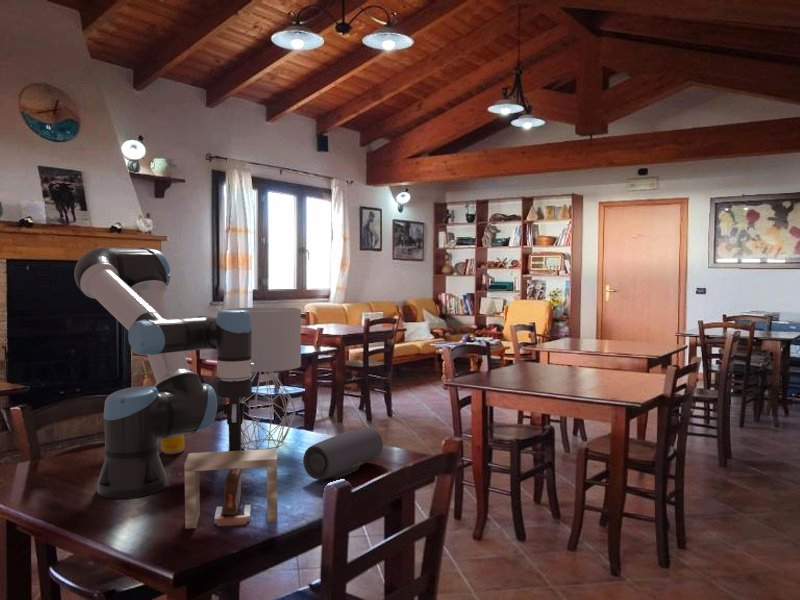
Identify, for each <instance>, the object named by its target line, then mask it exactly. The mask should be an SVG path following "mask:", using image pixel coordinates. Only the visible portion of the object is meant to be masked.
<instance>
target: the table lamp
mask: <svg viewBox="0 0 800 600" xmlns="http://www.w3.org/2000/svg"><path fill="white" fill-rule="evenodd" d="M222 310H247V311H248V312H249V313H250V315H251V326H252V341H251V362H250V363H254V367H250V368H251V376H250V377H249V378H250V379H251V380H252V382H253V381H254V380H255V377H256V375H257V373H259V374H258V375H259V376H258V381H257V385H256V391H255V392H254V393H253V394H251V395H249V396H248V397H247V398H246V397H242V399H241V402H244V405H246V407H248V409H249V410H250V411H251V413H252V416H251V415H249V414H248V413H247V412H245V411H244V412H243V414H245V415H247V416H248V417H250V418H251V419H252V421H251V422H250V424H249V425H248V426H247V425H246V421H245V417H244V416H243V423H244V425H245V429H244V430H243V428H242V427H241V442H242V445H243V448H247V449H249V450H261V448H260V447H261V446H262V445H263V443H264V442H265V440H266V441H267V447H266V448H264V449H277V448H279V447H281V446H283V445H284V442H285V440H286V439H287V436H288V433H289V431H290V429H291V427H292V424H293V423H294V419H295V417H296V408H295V403H294V401H293V399H292V396H291V393H290V392H289V391H288V389H286V388H285V387H286V386H284V385H283V383H282V382H281V381H280V379H279V378H278V377H277V375H276V374H275V372H281V371H282V372H284V371H290V370H294V369H299V368H301V366H302V335H301V334H302V328H301V327H302V326H301V325H302V321H301V319H302V318H301V317H302V315H301V314H302V312H301V311H302V309H301V308H297V307H280V306H279V307H277V306H275V307H274V306H273V307H272V306H271V307H270V306H269V307H268V306H267V307H266V306H265V307H261V306H259V307H257V306H255V307H234V308H233V307H232V308H224V309H222ZM261 373H263V374H264V379H265V384H266V385H265V386H266V392H267V396H265V394H262V393H261V392H259V387H260V380H261V375H262V374H261ZM268 374H269V376H270V378H271V380H272V382H273V384H274V386H275V389H276V391H277V392H278V395H276V396H275V397H274V398H273V395H272V390H271V385H270V381H269V378H268ZM277 386H278V387H277ZM268 387H269V388H268ZM281 387H282V388H281ZM282 389H283V390H282ZM279 390H280V391H279ZM283 391H284V392H285V393H284V392H283ZM269 392H270V395H269ZM258 393H259V395H261V396H263V397H264V398H266V399H268V401H267V402H265V403H264V404H262V405H261V406H260V407H258ZM281 394H282V395H281ZM254 395H255V397H254V401H253V410H252V409H251V407H249V405H248V404H247V403H246V402H247V401H248V400H249V399H251V398H252V396H254ZM277 397H280V399H281V401H282V404H283V408H282V407H281V406H280V405H278V404H276V403H275V402H273V401H274V400H275V399H277ZM245 398H246V399H245ZM286 398H287V401H286ZM289 401H290V403H291V405H292V407H293V412H292V413H290V415H288V416H287V411H288V409H287V408H288V404H289ZM268 403H269V410H268V411H267V412H265V413H264V414H263V416H261V417H260V418H259V419H258V412H259V410H260V409H261V408H263V407H264V406H265V405H267V404H268ZM274 405H275V406H276V407H278V408H279V409H282V410H283V411H284V414H283V415H284V416H283V418H281V417H280V416H279V414H278V413H277V412H276V409H274V407H273V406H274ZM257 407H258V409H257ZM273 411H274V413H275V414H276V416H277V417H278V418H279V420H280V421H281V422H279V424H278V425H276V426H274V428H273V429H272V428H271V427H272V418H273ZM255 413H256V418H255ZM268 413H269V414H270V415H269V416H270V417H269V419H270V423H269V430H267V429H266V428H264V427H263V426H262V425H261V424H260V422H259V421H260V420H261V419H263V417H264V416H265V415H266V414H268ZM290 417H291V419H290V422H289V421H288V419H289V418H290ZM255 421H256V422H255ZM286 422H287V425H288V427H287V428H286V431H285V433H284V429H285V426H286ZM251 425H252V426H253V430H252V431H253V432H252V435H251V437H250V434H249V430H248V428H249V427H250V426H251ZM259 427H260V428H261V430H262V431H263V433H264V435H265V438H263V439H261V438H260V431H259ZM256 428H257V433H258V439H257V435H256V434H257V433H256ZM271 429H272V430H271ZM278 429H279V431H278V435H277V438H276V440H277V442H275V441H276V440H275V439H274V437H273V435H275V434H276V432H277V430H278ZM245 431H246V432H247V434H246V433H245ZM273 431H274V432H273ZM266 432H267V433H268V434H267V433H266ZM272 432H273V433H272ZM271 433H272V434H271ZM283 434H284V435H283ZM253 436H254V439H253ZM271 438H272V439H271ZM252 439H253V440H252ZM247 440H248V441H247ZM258 441H261V443H260V444H259V445H258ZM270 441H273V443H274V446H273V447H269V446H270V444H269V443H270ZM254 442H255V444H254ZM249 443H251V444H252V445H253V447H255V448H253V447H249ZM276 443H277V444H276ZM246 445H247V446H246Z"/></svg>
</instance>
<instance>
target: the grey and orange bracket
mask: <svg viewBox="0 0 800 600" xmlns="http://www.w3.org/2000/svg"><path fill="white" fill-rule="evenodd" d="M251 507H252V506H251V504H244V510H243V514H238V515H225V516H224V515H223V506H216V509H215V514H214V522H213V523H214V525H216V526H217V527H228V526H241V525H243V526H244V525H247V524H248V523H250V522H251V511H252V509H251Z"/></svg>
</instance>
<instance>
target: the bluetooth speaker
mask: <svg viewBox="0 0 800 600" xmlns="http://www.w3.org/2000/svg"><path fill="white" fill-rule="evenodd" d="M383 443H384V442H383V440H382V437H381V434H380V432H379V431H378V430H377V429H375V428H373V427H370V426H369V427H362V428H361V427H360V428H357V429H354V430H350V431H346V432H343V433H341V434H337V435H334V436H331V437H329V438H326V439H324V440H321V441H319V442H317V443H314V444H312V445H311V446H308V448H307V449H306V450H305V452H304V454H303V459H302V463H303V468H304V470H305V473H306V474H307V475H308V476H309V477H310V478H312V479H314V480H318V481H319V480H326V479H329V478H331V479H340V478H343V477H346V476H348V475H350V474H352V473H351V472H353V471H355V472H357V471H359V470H360V469H359V468H360V467H361V466H363V465H365V464H367V463H368V462H370V461H372V460H374V459H375V458H377V457H378V456H379V455H380V454H382V452H383V447H384V444H383ZM358 469H359V470H358ZM356 470H357V471H356ZM349 473H350V474H349ZM353 473H354V472H353ZM347 474H348V475H347ZM345 475H346V476H345ZM342 476H343V477H342ZM339 477H340V478H339Z"/></svg>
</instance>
